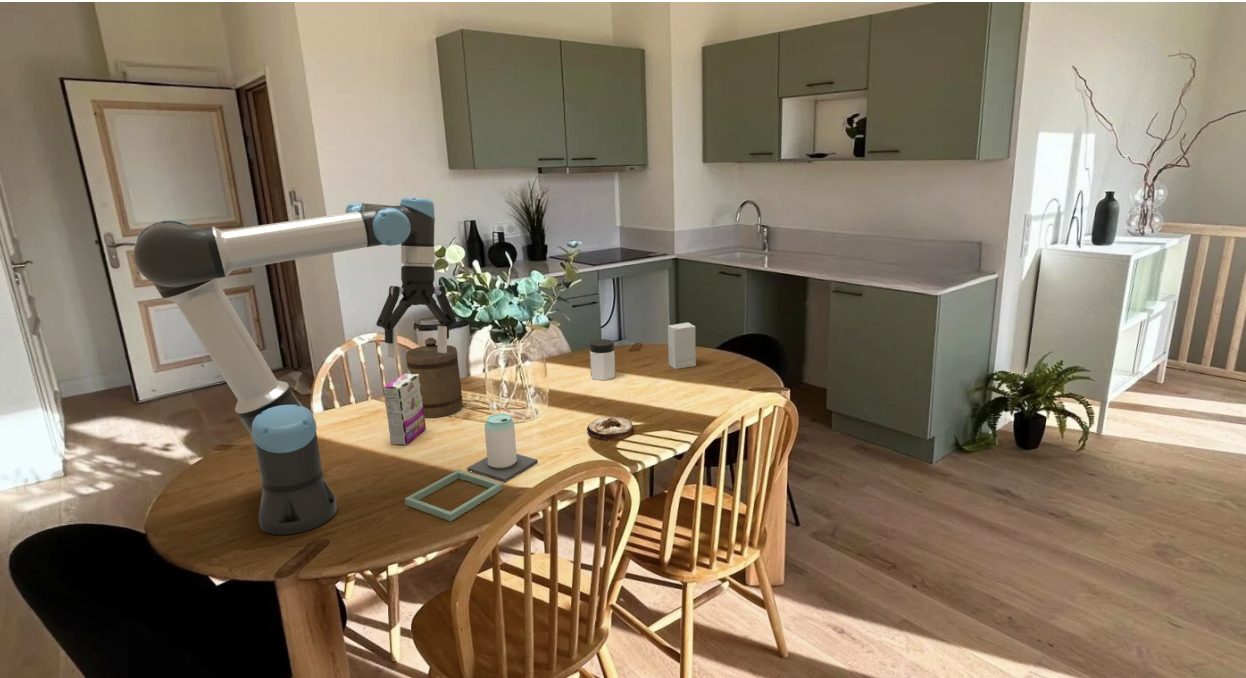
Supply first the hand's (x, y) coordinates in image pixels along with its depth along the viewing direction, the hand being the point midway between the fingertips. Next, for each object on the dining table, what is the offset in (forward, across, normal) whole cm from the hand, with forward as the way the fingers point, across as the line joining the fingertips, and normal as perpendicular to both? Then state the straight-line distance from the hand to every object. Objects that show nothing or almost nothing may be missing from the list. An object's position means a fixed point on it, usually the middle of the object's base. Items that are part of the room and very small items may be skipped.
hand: (418, 355), depth 164 cm
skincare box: (+12, -104, +4) cm, 105 cm away
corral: (+30, +3, +18) cm, 35 cm away
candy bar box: (+26, -10, -20) cm, 34 cm away
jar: (+15, -79, -11) cm, 81 cm away
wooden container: (+22, -28, -31) cm, 47 cm away
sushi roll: (+23, -46, +22) cm, 56 cm away
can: (+26, -14, +15) cm, 33 cm away
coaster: (+27, -14, +15) cm, 34 cm away
